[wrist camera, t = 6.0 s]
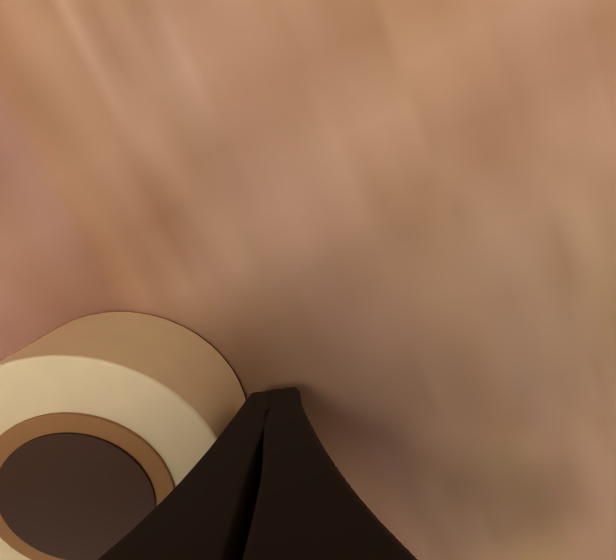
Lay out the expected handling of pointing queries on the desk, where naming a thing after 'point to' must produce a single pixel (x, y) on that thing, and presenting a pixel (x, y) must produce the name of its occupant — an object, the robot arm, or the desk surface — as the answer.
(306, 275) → the desk surface
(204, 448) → the tape roll
